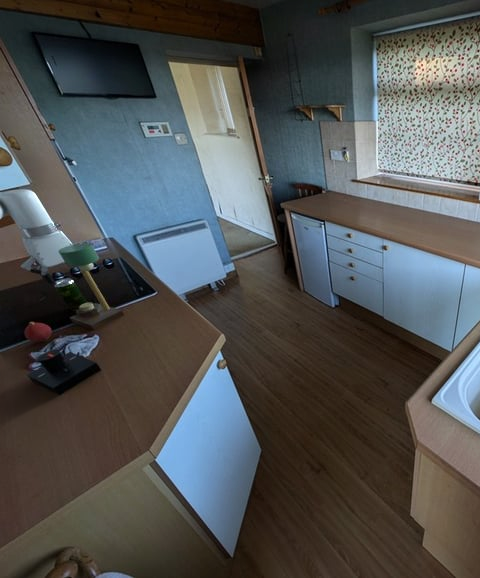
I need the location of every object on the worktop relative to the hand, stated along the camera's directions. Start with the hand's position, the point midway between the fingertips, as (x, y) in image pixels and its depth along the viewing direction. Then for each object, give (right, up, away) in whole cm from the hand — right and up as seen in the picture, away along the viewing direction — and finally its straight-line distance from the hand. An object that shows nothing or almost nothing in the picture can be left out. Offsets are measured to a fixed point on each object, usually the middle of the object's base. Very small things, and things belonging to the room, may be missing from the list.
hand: (70, 277), depth 102 cm
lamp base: (+2, -15, +8) cm, 17 cm away
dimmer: (+17, -30, -17) cm, 38 cm away
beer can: (-12, -12, +15) cm, 22 cm away
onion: (-5, -22, -3) cm, 23 cm away
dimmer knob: (+15, -27, -18) cm, 35 cm away
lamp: (+10, -12, +5) cm, 17 cm away
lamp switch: (-1, -12, +7) cm, 14 cm away
